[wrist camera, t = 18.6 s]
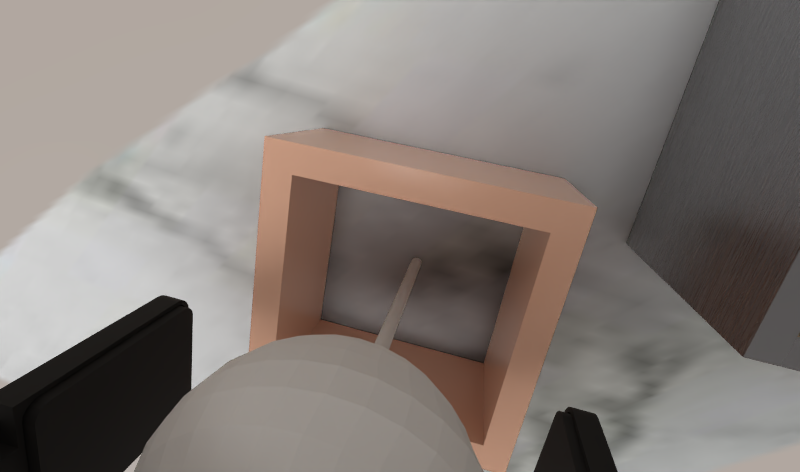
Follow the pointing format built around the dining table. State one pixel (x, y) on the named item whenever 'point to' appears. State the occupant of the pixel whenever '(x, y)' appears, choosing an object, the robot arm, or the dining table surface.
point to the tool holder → (443, 188)
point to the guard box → (735, 184)
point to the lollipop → (315, 411)
